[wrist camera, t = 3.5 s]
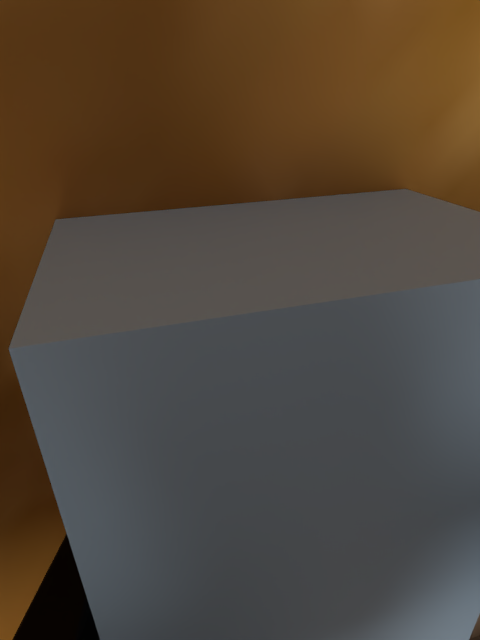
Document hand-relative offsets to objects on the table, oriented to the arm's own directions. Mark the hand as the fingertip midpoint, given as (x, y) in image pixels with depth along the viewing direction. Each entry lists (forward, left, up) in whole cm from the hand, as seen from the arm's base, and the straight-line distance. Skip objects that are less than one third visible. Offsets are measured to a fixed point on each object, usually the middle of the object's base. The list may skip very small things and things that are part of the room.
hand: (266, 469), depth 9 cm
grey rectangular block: (0, 0, -1) cm, 1 cm away
